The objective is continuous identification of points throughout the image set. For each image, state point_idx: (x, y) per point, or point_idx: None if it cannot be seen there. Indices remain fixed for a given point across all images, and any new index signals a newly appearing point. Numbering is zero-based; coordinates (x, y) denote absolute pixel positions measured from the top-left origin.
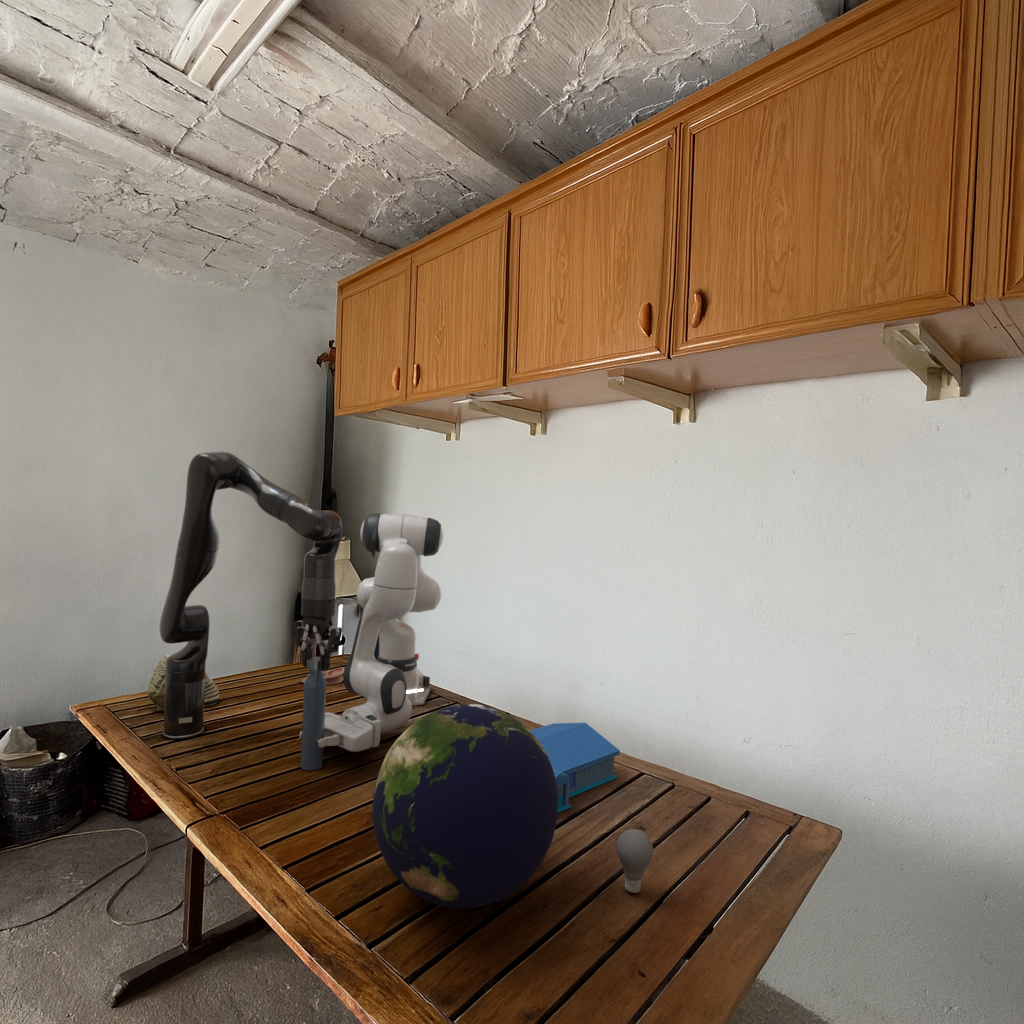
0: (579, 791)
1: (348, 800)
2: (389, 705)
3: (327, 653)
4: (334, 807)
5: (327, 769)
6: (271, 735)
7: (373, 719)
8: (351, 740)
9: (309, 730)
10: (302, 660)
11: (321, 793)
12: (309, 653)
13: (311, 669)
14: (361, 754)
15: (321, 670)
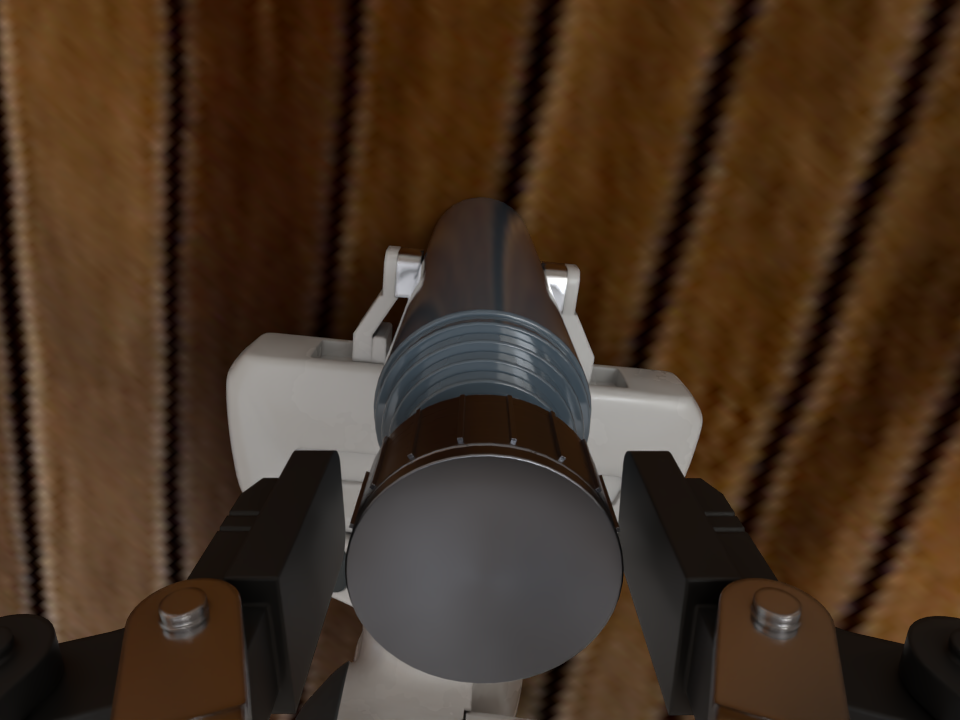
0: None
1: (75, 101)
2: (310, 701)
3: (99, 637)
4: (60, 10)
5: None
6: (903, 372)
7: None
8: (249, 350)
9: (447, 237)
10: (719, 498)
11: (218, 74)
12: (662, 621)
13: (439, 402)
14: None
15: (313, 452)
